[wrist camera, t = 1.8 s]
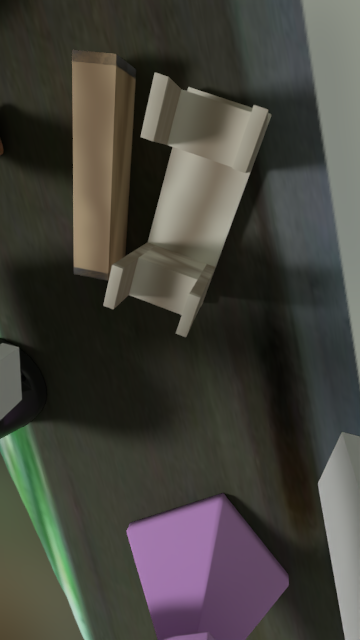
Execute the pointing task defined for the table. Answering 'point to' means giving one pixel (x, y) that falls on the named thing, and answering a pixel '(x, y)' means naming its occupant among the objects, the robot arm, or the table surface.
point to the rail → (101, 159)
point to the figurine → (1, 148)
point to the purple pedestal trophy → (205, 571)
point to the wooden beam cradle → (190, 197)
